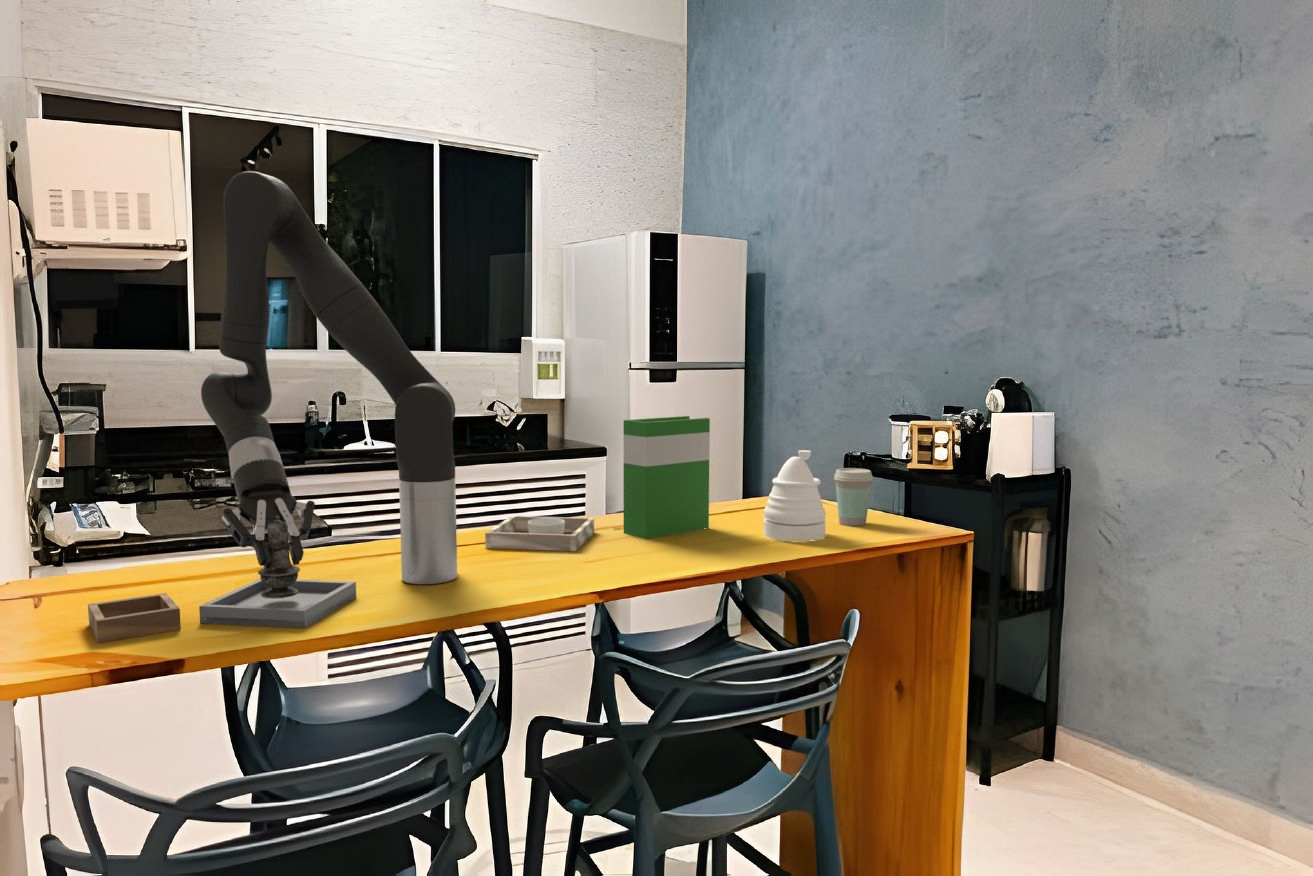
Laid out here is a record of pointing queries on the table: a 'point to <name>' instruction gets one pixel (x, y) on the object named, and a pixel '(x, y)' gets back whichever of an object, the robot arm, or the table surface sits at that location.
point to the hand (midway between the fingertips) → (283, 563)
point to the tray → (278, 604)
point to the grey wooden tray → (539, 535)
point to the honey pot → (795, 504)
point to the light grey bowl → (546, 526)
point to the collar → (133, 617)
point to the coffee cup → (853, 495)
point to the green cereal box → (666, 476)
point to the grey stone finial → (279, 563)
